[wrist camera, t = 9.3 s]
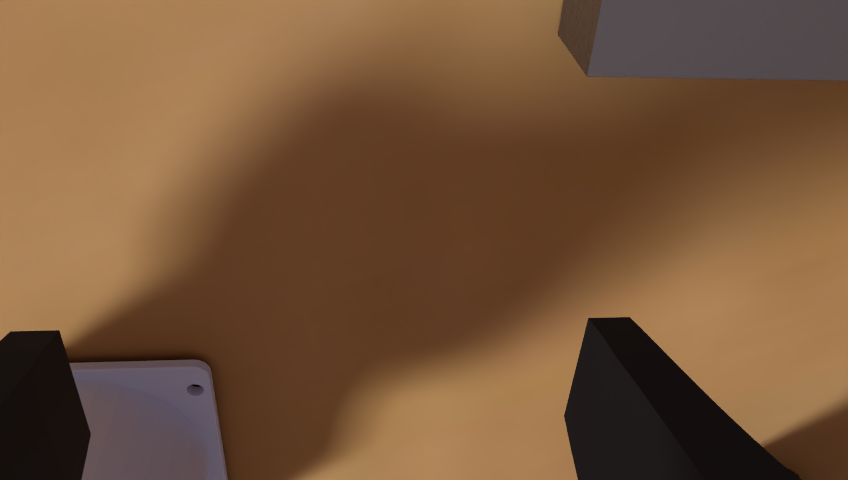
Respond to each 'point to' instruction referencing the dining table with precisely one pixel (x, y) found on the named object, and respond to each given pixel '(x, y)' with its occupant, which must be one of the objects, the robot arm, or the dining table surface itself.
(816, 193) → the dining table surface
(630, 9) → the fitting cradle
